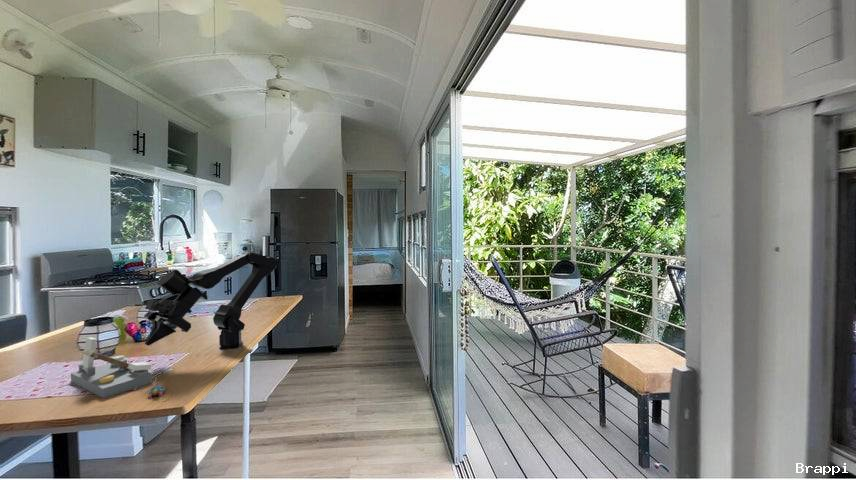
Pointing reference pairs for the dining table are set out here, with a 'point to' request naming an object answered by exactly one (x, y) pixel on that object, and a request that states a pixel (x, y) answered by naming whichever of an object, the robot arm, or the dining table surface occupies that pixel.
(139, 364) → the rocker
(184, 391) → the dining table surface
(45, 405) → the dining table surface
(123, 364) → the paddle walnut
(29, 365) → the dining table surface
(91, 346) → the lever grey
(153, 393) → the bomb figurine
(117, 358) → the button
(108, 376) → the console
